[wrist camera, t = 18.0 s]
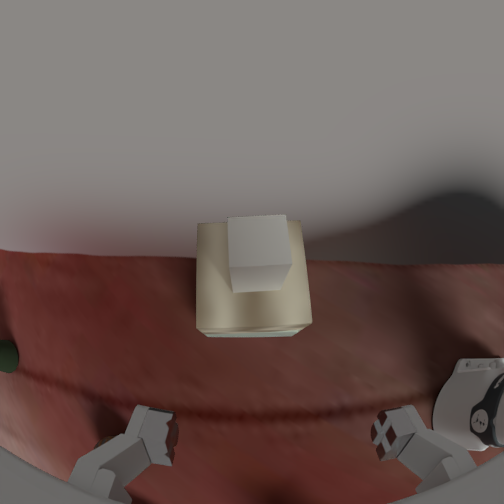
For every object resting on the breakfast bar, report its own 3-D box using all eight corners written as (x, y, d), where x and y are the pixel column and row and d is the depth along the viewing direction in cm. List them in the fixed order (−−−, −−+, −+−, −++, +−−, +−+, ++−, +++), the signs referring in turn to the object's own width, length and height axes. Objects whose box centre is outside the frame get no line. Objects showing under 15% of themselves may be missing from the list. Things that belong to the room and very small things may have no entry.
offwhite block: (276, 250, 32) (285, 214, 24) (280, 289, 30) (292, 263, 23) (231, 253, 31) (227, 217, 24) (232, 292, 30) (229, 267, 22)
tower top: (292, 241, 39) (300, 220, 33) (301, 329, 34) (312, 322, 29) (203, 244, 38) (197, 223, 33) (204, 334, 34) (196, 328, 28)
